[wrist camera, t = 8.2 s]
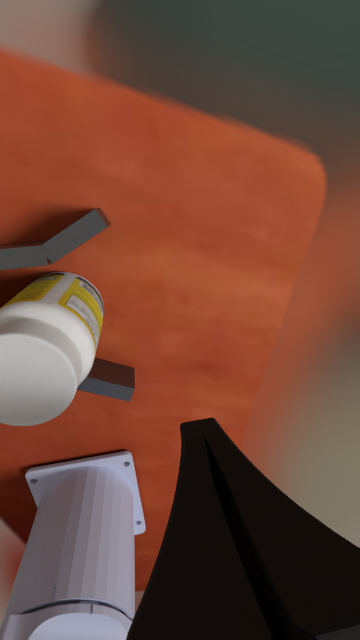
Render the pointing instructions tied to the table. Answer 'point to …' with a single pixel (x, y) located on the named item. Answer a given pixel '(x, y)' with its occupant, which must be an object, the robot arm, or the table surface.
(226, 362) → the table surface
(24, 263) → the u holder
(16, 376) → the supplement bottle
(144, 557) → the table surface
